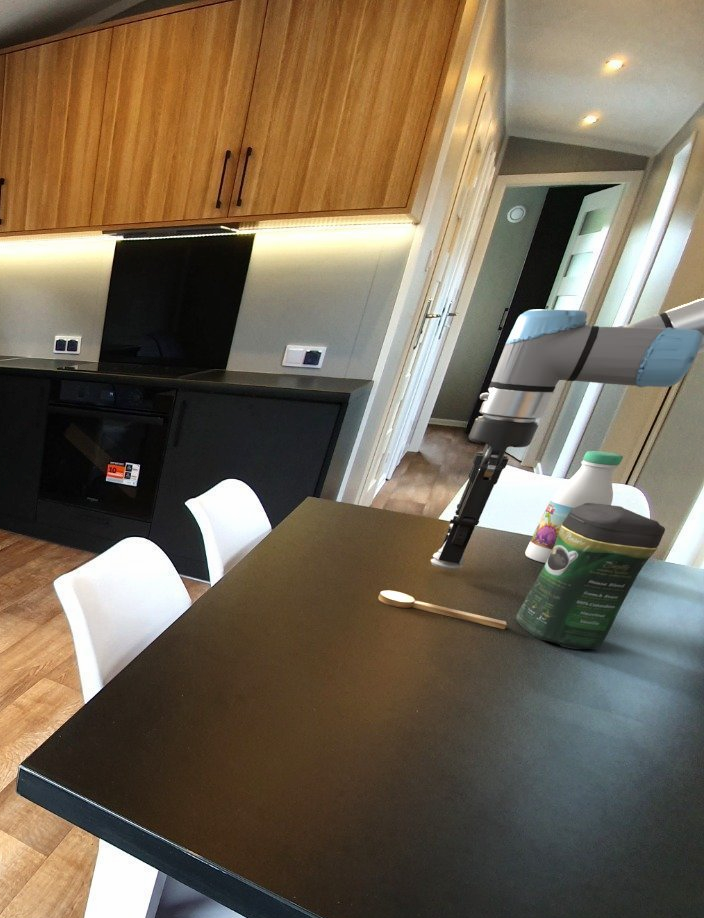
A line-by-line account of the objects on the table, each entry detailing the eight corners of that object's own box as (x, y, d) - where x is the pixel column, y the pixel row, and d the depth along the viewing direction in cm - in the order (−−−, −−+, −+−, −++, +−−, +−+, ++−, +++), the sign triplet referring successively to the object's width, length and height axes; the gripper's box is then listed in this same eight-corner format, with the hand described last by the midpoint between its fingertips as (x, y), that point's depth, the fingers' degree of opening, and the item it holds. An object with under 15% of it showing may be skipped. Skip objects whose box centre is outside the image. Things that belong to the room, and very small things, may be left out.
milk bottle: (573, 559, 119) (628, 452, 110) (585, 571, 113) (644, 460, 104) (519, 550, 123) (569, 446, 114) (528, 562, 117) (581, 453, 108)
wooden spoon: (503, 622, 93) (506, 616, 92) (505, 633, 90) (508, 627, 89) (379, 593, 101) (381, 587, 101) (377, 602, 98) (379, 596, 98)
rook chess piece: (462, 566, 109) (482, 522, 106) (460, 573, 106) (480, 527, 103) (430, 559, 112) (448, 516, 109) (427, 565, 109) (445, 521, 106)
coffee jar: (610, 656, 84) (688, 523, 76) (536, 645, 87) (605, 514, 79) (571, 626, 92) (637, 503, 84) (504, 616, 95) (563, 495, 87)
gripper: (476, 409, 107) (424, 539, 117) (478, 421, 95) (419, 565, 104) (535, 415, 103) (476, 549, 113) (545, 427, 90) (477, 577, 100)
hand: (449, 557), depth 109 cm, fingers closed on rook chess piece, 4 cm apart
